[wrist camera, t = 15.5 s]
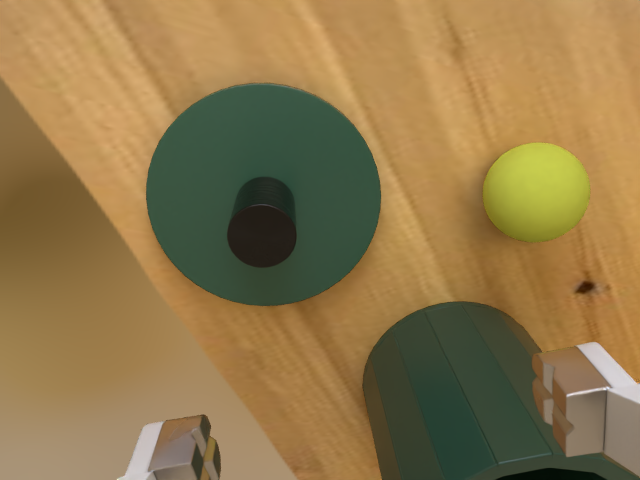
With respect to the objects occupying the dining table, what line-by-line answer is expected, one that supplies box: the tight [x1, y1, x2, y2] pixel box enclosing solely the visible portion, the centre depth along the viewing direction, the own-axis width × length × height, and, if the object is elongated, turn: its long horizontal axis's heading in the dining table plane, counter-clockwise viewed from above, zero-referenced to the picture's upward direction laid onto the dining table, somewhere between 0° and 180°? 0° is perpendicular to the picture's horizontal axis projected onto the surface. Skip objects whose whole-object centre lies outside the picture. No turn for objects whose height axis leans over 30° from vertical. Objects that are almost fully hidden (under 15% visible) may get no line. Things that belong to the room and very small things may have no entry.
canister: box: [363, 302, 640, 480], centre depth 29 cm, size 12×12×12 cm
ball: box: [483, 143, 590, 242], centre depth 27 cm, size 5×5×5 cm
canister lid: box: [146, 83, 381, 306], centre depth 26 cm, size 13×13×6 cm
